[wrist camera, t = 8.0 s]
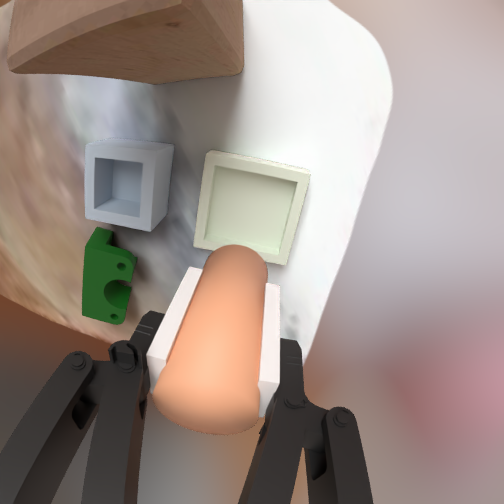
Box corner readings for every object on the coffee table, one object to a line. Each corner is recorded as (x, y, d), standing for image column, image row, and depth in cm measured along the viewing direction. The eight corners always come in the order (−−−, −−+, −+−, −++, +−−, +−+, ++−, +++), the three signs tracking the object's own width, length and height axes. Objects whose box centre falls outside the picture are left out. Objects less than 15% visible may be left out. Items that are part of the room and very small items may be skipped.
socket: (107, 203, 31) (85, 218, 27) (110, 137, 28) (85, 144, 23) (167, 214, 32) (150, 231, 27) (174, 144, 28) (156, 151, 23)
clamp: (135, 274, 41) (123, 330, 36) (98, 264, 39) (83, 319, 34) (144, 227, 32) (126, 295, 27) (98, 214, 30) (72, 280, 25)
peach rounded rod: (202, 292, 19) (156, 421, 10) (208, 238, 17) (148, 367, 8) (261, 303, 19) (248, 440, 10) (273, 251, 17) (269, 392, 8)
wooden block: (245, 76, 24) (189, 7, 7) (150, 86, 25) (-2, 81, 7) (243, -7, 20) (200, -132, 2) (150, 7, 21) (27, -60, 3)
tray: (198, 236, 33) (193, 246, 30) (211, 149, 28) (205, 153, 26) (285, 254, 33) (285, 265, 31) (307, 169, 28) (310, 174, 26)
